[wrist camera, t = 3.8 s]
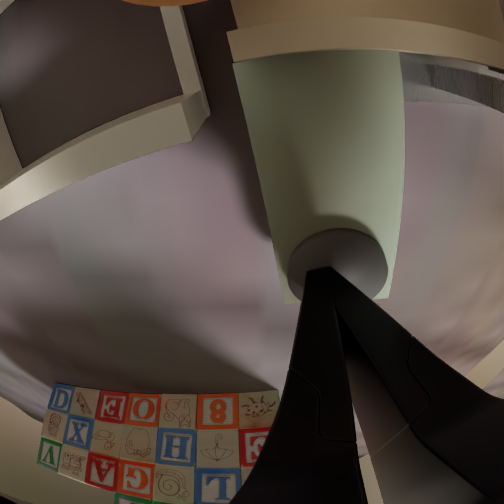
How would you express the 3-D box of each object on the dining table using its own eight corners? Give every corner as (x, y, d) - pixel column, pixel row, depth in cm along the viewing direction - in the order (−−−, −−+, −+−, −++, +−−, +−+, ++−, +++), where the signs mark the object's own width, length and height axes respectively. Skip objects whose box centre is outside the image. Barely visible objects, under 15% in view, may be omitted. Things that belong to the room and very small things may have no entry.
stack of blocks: (87, 407, 23) (72, 501, 14) (54, 380, 20) (30, 489, 10) (283, 412, 22) (294, 533, 13) (280, 387, 19) (295, 544, 9)
